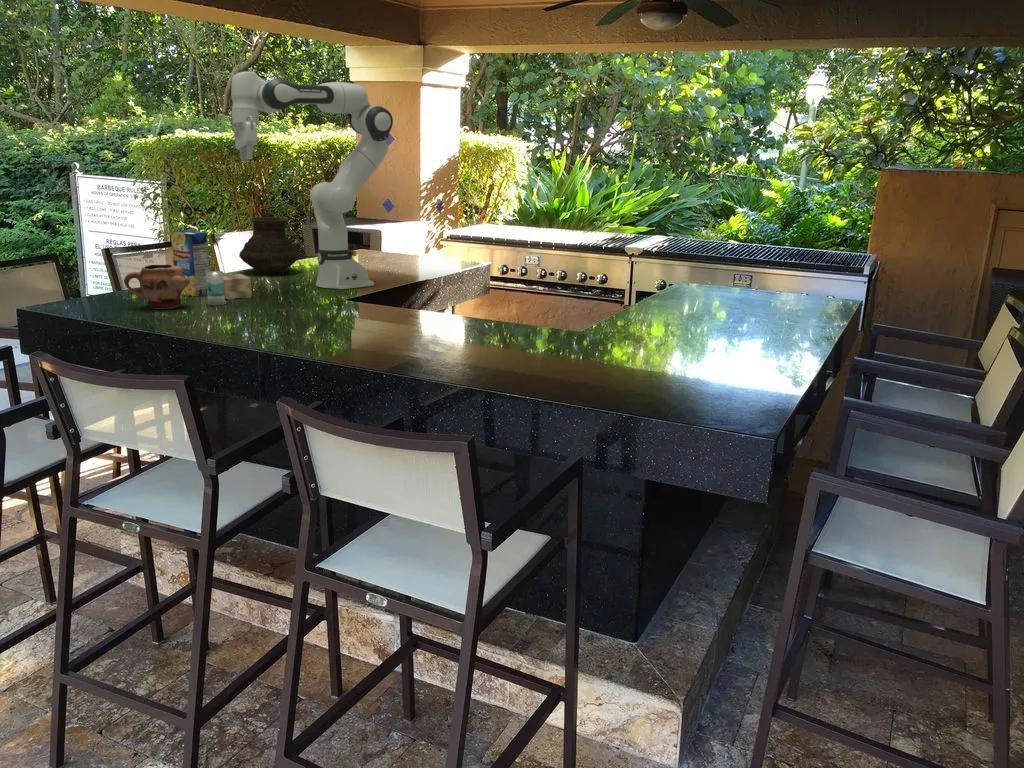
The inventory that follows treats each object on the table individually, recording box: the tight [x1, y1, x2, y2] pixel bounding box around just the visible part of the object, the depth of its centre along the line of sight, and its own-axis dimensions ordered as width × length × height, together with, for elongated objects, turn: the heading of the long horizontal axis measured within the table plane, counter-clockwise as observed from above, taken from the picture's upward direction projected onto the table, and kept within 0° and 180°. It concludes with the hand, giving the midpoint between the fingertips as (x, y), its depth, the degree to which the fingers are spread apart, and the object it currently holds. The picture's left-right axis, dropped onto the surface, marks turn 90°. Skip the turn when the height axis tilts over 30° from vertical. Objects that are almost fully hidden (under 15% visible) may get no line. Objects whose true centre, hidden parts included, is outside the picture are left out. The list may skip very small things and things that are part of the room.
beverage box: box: [170, 229, 211, 297], centre depth 305 cm, size 7×11×22 cm, turn 59°
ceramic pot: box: [238, 216, 301, 275], centre depth 355 cm, size 24×24×22 cm
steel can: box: [206, 270, 226, 307], centre depth 290 cm, size 6×6×11 cm
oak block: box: [224, 273, 252, 300], centre depth 304 cm, size 10×10×7 cm
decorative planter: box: [123, 264, 190, 310], centre depth 281 cm, size 20×12×14 cm, turn 117°
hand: (246, 160), depth 298 cm, fingers open, 8 cm apart
